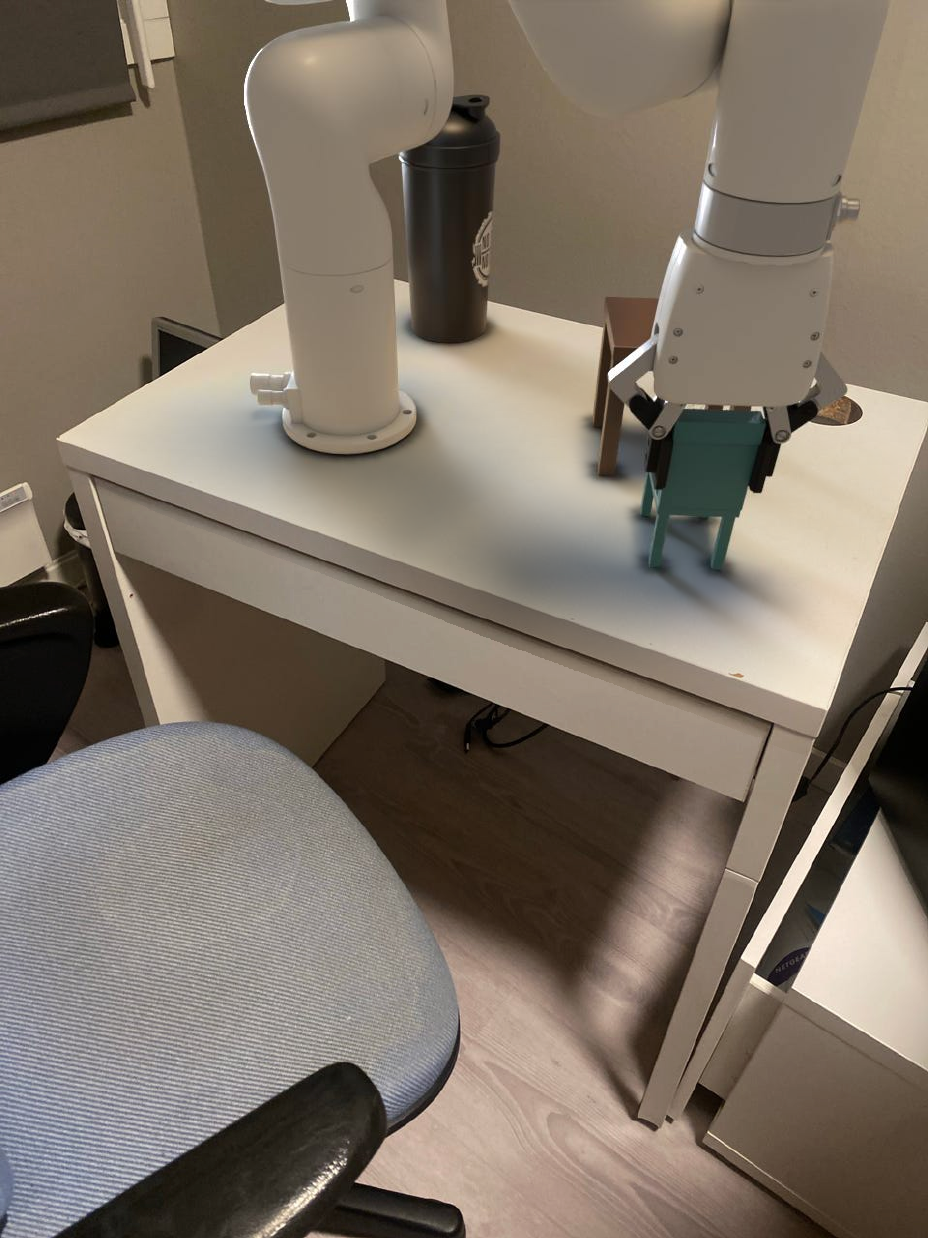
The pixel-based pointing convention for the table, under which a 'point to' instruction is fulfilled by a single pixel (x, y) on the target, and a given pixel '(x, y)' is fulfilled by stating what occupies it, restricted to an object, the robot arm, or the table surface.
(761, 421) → the chair
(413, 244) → the water bottle
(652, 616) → the table surface
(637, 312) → the side table
